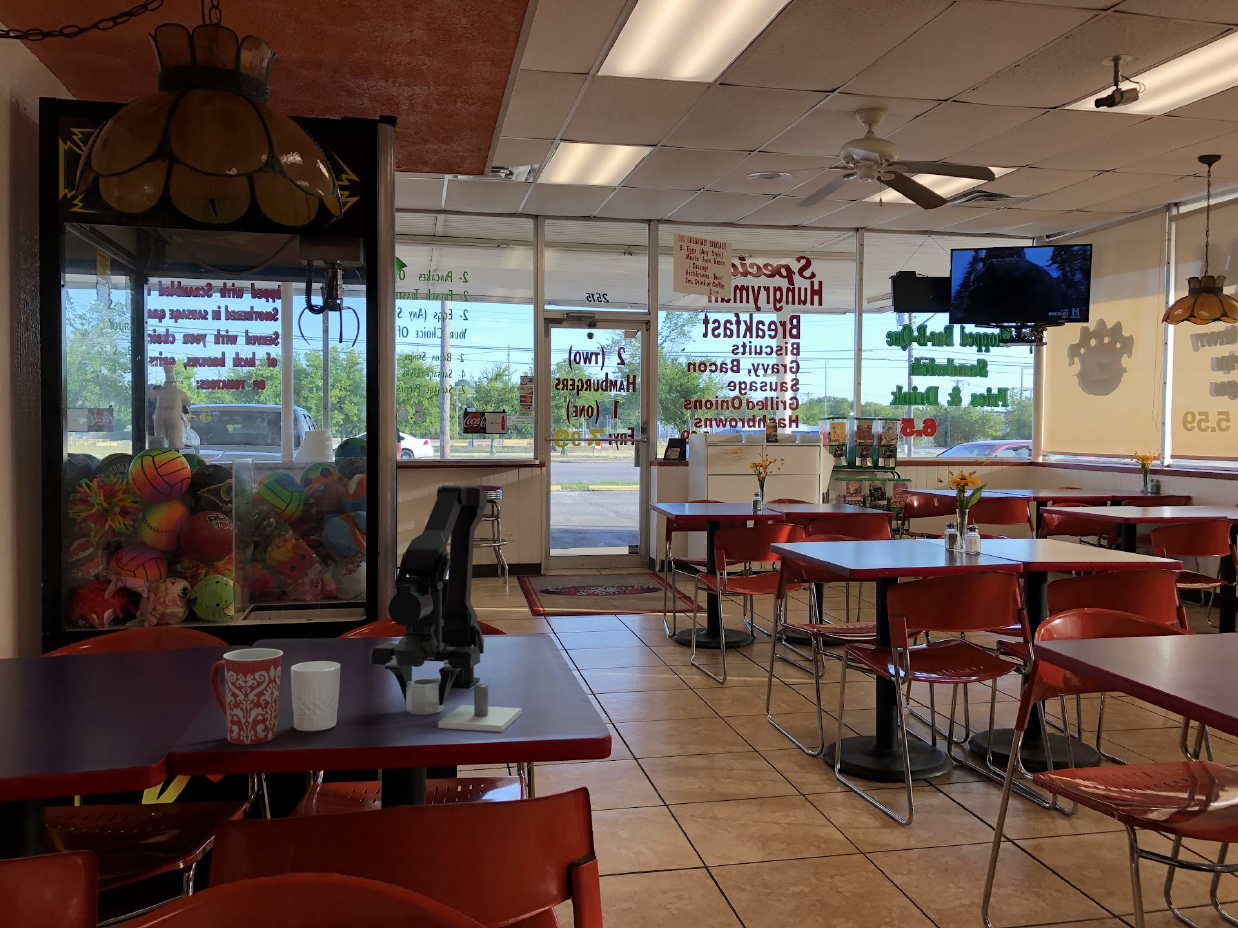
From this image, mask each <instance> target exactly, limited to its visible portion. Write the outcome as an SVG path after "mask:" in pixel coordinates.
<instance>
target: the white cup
mask: <svg viewBox="0 0 1238 928" xmlns="http://www.w3.org/2000/svg"><path fill="white" fill-rule="evenodd" d="M340 679H341V664H340V663H339V662H335V661H330V660H328V661H327V660H321V661H320V660H319V661H318V660H317V661H307V662H300V663H297V664H294V665H292V666H291V667H290V683H291V699H292V700H291V701H292V703H291V704H292V705H291V706H292V711H293V727H294V728H295V729H296V730H298V731H301V732H317V731H323V730H328V729H329V730H330V729H332V728H334V727H335V726H336V725H337V722H338V719H337V718H338V717H337V716H338V709H339V697H340Z"/></svg>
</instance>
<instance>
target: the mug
mask: <svg viewBox="0 0 1238 928" xmlns="http://www.w3.org/2000/svg"><path fill="white" fill-rule="evenodd" d="M283 656H284V651H282V650H281V649H276V648H263V647H262V648H261V647H260V648H246V649H245V648H244V649H236V650H233V651H229V652H227V653H224V654H223V656H222V659H223V660H219V661H217V662H215V663H214V664H213V665H212V667H211V669H210V674H209V675H210V676H209V682H210V683H209V684H210V688H211V692H212V694H213V697H214V698H215V701H216V703H217V705H218V708H219V709H220V711H221V712H222V714H223V715H224V717H225V719H226V733H227V735H226V736H227V741H228V742H229V743H231V744H235V745H254V744H255V745H256V744H261V743H265V742H269V741H271V740H274V739H275V738H276V737H277V730H278V715H279V714H278V713H279V701H280V700H279V699H280V687H281V686H280V684H281V671H282V658H283ZM222 667H224V681H225V683H224V686H225V694H224V692H223V689H222V686H221V682H220V681H221V680H220V671H221V668H222Z"/></svg>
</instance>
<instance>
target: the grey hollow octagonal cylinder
mask: <svg viewBox="0 0 1238 928" xmlns="http://www.w3.org/2000/svg"><path fill="white" fill-rule="evenodd" d="M440 681H441V678H439V677H419V678H412V680H410V681H408V682H407V683H406V702H405V704H406V708H405V711H406V712H407V713H409V714H410V715H421V716H422V715H423V716H424V715H425V716H427V715H431V714H438V713H440V712H441V711H443V710H444V708H445V706H444V705H445V704H444V705H442V706H441V705H440V699H439V696H440Z"/></svg>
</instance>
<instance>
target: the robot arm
mask: <svg viewBox="0 0 1238 928" xmlns="http://www.w3.org/2000/svg"><path fill="white" fill-rule="evenodd" d="M435 499H436V500H435V502H434V504H433V507H432V509H431V511H430V515H429V517H428V520H427V521H426V524H425V527H424V528H423V531H422V533H421V534H420V535H418V536H416V537H414V538H412V540H411V541H410V543H409V544H408V546H407V547H406V550H405V551H404V552H403V554H402V557H401V559H400V565H399V567H398V573H397V575H396V580H395V586H396V587H399V592H398V593H396V594H394V596H392V598H391V600H390V601H389V604H388V606H387V607H388V614H389V617H390V619H391V620H392V621H393V622H394V623H395V624H397V625H398V626H402V627H404V628H405V632H404V636H403V637H401V638H400V640H399V641H398V642H397V643H393V642H392V643H391V642H383V643H382V644H378V645H377V646H374V647H373V648H372V649H371V650H370V654H369V664H370V665H378V666H379V665H382V666H384V669H385V670H388V671H390V672H391V673H392V674H393V675H394V677H395V678H396V680H397V682H398V685H399V689H400V691H401V692H402V693H401V694H402V695H403V699H404V702H405V703H406V683H407V682H408V681H410V680H412V679H413V667H414V668H418V667H422V666H423V665H424V664H425V662H441V663H442V662H443V665H444V666H443V667H441V668H439V669H438V671H439V675H440V679H441V681H440V696H439V699H440V705H441V706H442V705H445V703H446V700H447V698H448V695H449V692H450V690H451V688H452V687H453V688H454V687H457V688H470V687H472V686H474V685H476V684H477V683H478V682H479V681H481V678H480V677H475V666H476V665H478V664H479V663H481V655H482V654H484V652H485V651H484V648H485V639H484V636H483V633H482V631H481V628H480V625H479V623H478V619H479V618H478V614H477V613H476V610H475V609H474V607H473V605H472V603H471V596H472V595H471V594H472V583H473V582H472V581H473V563H474V546H475V531H476V530H477V527H478V526H479V525H480V523H481V522H482V520H483V519H484V515H485V509H486V508H487V506H488V494H487V492H486V490H484V489H483V488H482V487H481V485H459V484H444V485H440V486H439V487H437V491H436V498H435ZM449 540H450V546H449V547H450V548H449V552H448V548H447V545H448V543H449ZM447 575H448V577H447ZM446 579H447V592H446V594H447V595H446V602H445V603H444V604H443V603H442V602H443V600H442V599H443V597H442V596H443V591H442V590H443V589H442V588H443V587H444V583H445V582H446Z"/></svg>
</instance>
